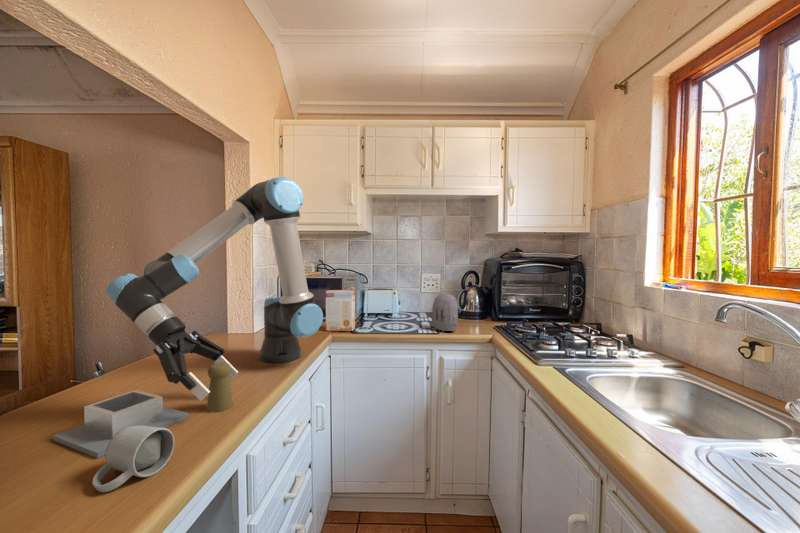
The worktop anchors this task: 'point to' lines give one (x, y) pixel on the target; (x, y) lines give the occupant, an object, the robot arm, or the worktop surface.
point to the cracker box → (340, 310)
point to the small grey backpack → (445, 312)
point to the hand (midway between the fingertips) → (221, 385)
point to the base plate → (98, 443)
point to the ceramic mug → (135, 454)
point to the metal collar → (123, 412)
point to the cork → (219, 388)
